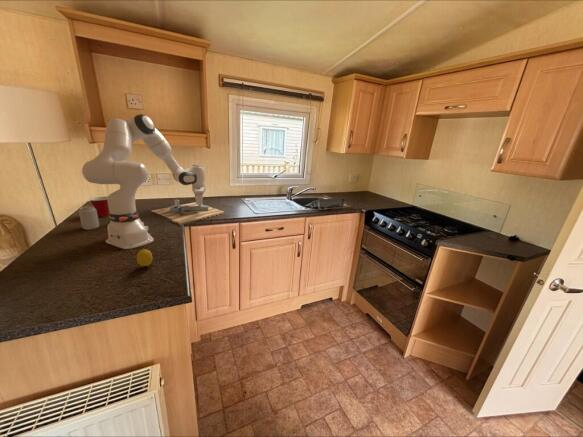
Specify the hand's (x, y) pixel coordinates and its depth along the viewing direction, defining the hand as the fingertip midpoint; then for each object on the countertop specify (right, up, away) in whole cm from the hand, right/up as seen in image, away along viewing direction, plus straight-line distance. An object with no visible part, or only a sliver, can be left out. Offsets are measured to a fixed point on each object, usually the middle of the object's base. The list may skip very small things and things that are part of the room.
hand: (200, 207), depth 174 cm
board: (-6, -4, -5) cm, 9 cm away
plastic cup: (-53, -7, -21) cm, 58 cm away
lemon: (+6, -28, -74) cm, 79 cm away
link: (-5, -2, -5) cm, 7 cm away
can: (-45, -14, -40) cm, 62 cm away
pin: (-13, -3, -7) cm, 15 cm away
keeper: (-6, -5, -12) cm, 15 cm away
